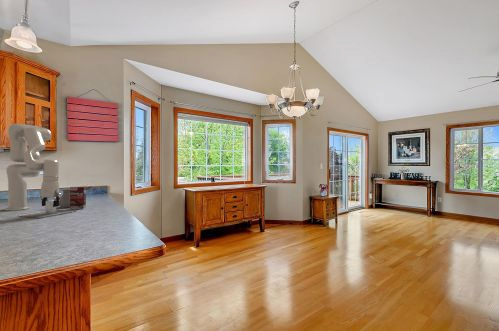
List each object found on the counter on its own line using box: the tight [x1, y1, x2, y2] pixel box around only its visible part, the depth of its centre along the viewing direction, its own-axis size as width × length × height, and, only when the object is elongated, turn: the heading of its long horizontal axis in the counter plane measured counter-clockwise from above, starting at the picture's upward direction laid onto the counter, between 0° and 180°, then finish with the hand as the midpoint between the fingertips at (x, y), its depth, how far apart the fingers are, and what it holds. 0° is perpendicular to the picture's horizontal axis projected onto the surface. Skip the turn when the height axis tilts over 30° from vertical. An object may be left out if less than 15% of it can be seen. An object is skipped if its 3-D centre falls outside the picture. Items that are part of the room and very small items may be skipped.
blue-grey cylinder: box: [45, 199, 57, 214], centre depth 154 cm, size 5×5×8 cm
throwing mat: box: [17, 209, 77, 219], centre depth 155 cm, size 18×22×1 cm
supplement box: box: [69, 186, 87, 211], centre depth 174 cm, size 9×5×16 cm, turn 105°
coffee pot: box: [58, 186, 93, 209], centre depth 184 cm, size 21×12×15 cm, turn 123°
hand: (50, 206), depth 154 cm, fingers open, 9 cm apart
